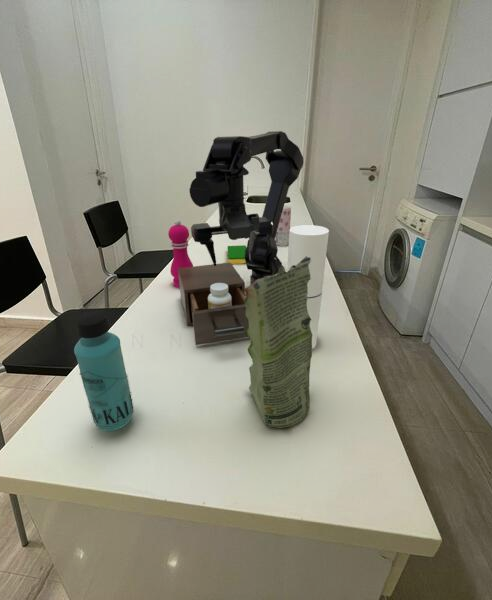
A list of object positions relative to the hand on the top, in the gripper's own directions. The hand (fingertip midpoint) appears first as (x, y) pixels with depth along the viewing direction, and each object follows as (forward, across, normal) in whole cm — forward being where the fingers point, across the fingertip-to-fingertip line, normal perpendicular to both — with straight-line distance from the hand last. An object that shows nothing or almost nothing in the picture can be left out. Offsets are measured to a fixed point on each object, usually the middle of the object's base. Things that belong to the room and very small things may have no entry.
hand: (233, 263), depth 82 cm
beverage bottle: (+12, -29, -32) cm, 45 cm away
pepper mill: (+13, -11, +20) cm, 26 cm away
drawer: (+12, -6, -11) cm, 17 cm away
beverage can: (+14, +33, +48) cm, 60 cm away
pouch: (+13, -2, -35) cm, 37 cm away
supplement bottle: (+11, -6, -10) cm, 16 cm away
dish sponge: (+14, +11, +38) cm, 42 cm away
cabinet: (+13, -6, +2) cm, 14 cm away
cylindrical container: (+13, +10, -19) cm, 25 cm away
